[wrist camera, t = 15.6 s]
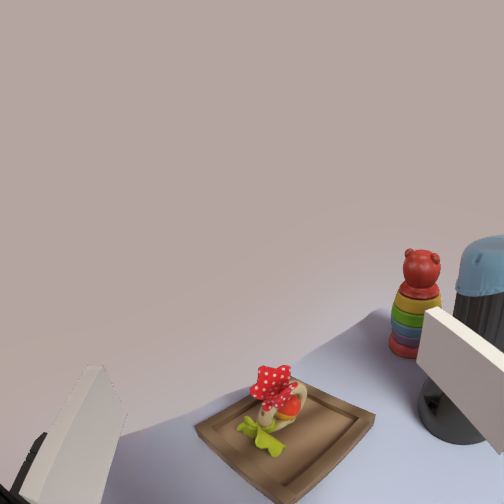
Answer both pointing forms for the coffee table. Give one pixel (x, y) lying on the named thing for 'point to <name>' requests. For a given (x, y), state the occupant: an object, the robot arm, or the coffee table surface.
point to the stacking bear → (414, 301)
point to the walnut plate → (288, 443)
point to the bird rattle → (274, 406)
